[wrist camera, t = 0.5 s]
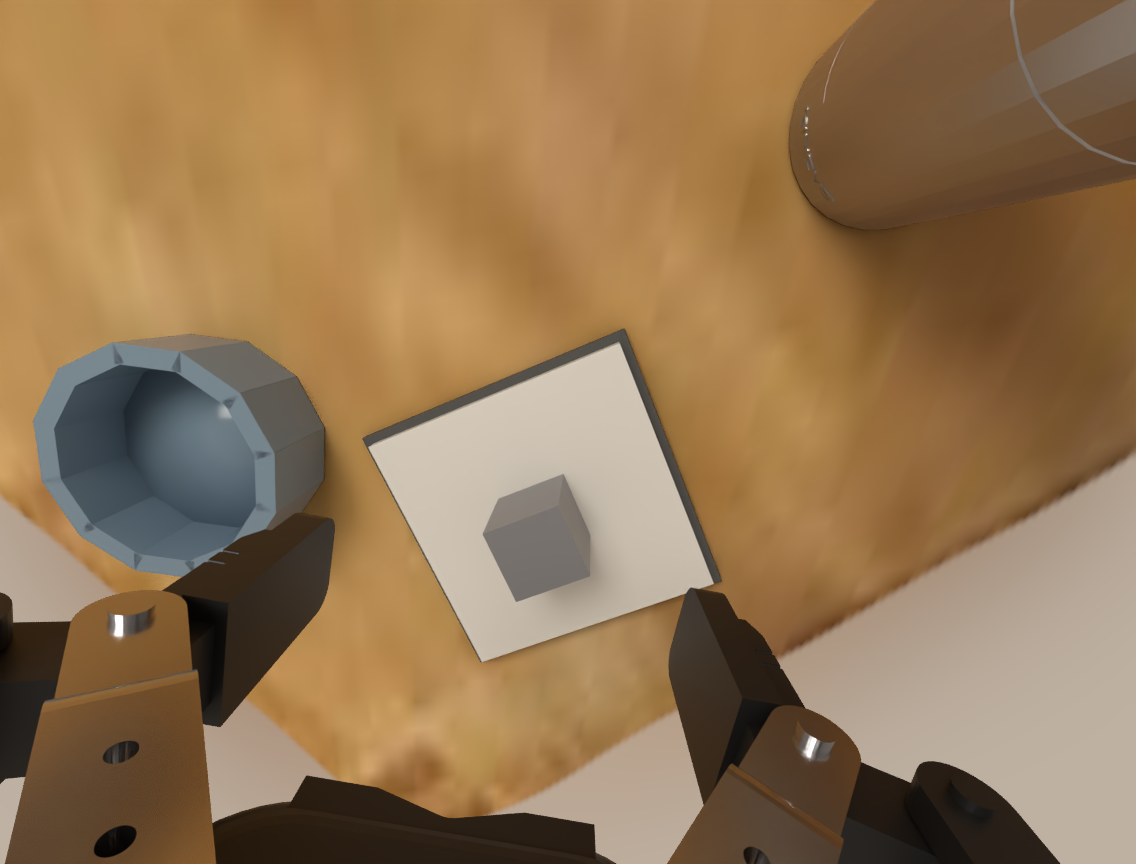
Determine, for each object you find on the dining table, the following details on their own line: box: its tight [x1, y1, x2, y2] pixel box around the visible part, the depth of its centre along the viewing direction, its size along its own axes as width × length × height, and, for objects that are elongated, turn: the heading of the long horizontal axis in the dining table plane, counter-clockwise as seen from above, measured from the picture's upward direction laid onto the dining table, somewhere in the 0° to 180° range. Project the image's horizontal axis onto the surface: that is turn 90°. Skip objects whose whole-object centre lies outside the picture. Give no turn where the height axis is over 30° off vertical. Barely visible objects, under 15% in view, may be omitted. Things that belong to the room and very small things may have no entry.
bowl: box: [33, 334, 324, 577], centre depth 29 cm, size 12×12×5 cm
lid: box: [368, 342, 714, 662], centre depth 28 cm, size 15×15×5 cm
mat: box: [362, 329, 722, 662], centre depth 31 cm, size 16×16×1 cm
